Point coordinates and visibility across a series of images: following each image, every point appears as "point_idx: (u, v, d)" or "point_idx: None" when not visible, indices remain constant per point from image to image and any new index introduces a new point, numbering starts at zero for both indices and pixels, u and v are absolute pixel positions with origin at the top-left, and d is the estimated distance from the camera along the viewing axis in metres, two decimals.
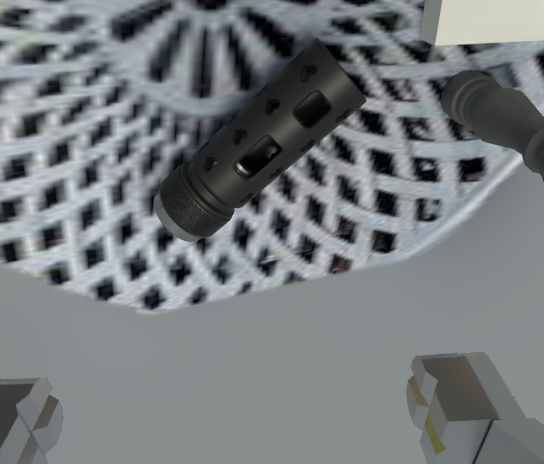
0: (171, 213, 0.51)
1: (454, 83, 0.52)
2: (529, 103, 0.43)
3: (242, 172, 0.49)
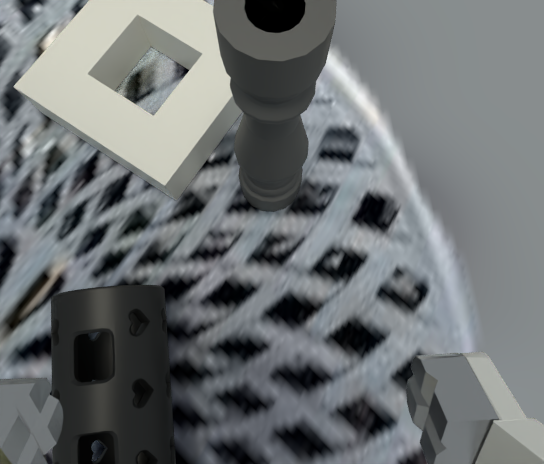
0: None
1: (241, 186, 0.42)
2: None
3: None
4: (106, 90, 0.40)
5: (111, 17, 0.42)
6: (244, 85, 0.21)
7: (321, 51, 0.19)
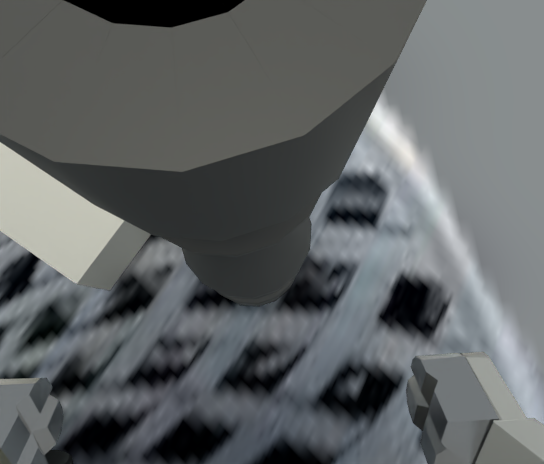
0: None
1: None
2: None
3: None
4: None
5: None
6: (100, 205, 0.06)
7: (371, 105, 0.04)
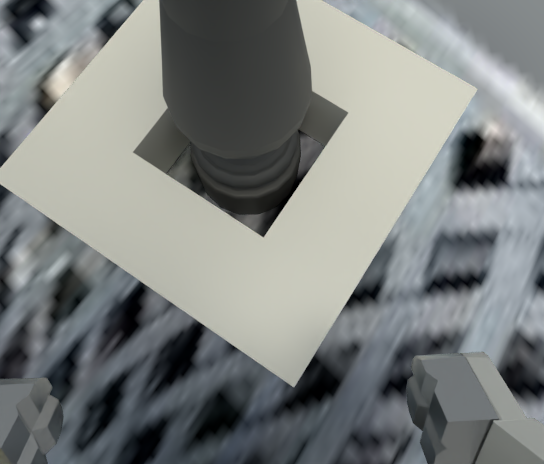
0: None
1: None
2: None
3: None
4: (170, 185, 0.21)
5: None
6: None
7: None
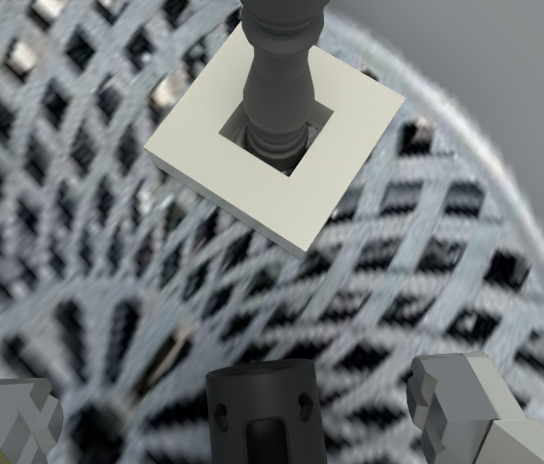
0: None
1: (249, 149, 0.42)
2: None
3: None
4: (238, 150, 0.39)
5: (238, 73, 0.40)
6: (261, 12, 0.22)
7: None
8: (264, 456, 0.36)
